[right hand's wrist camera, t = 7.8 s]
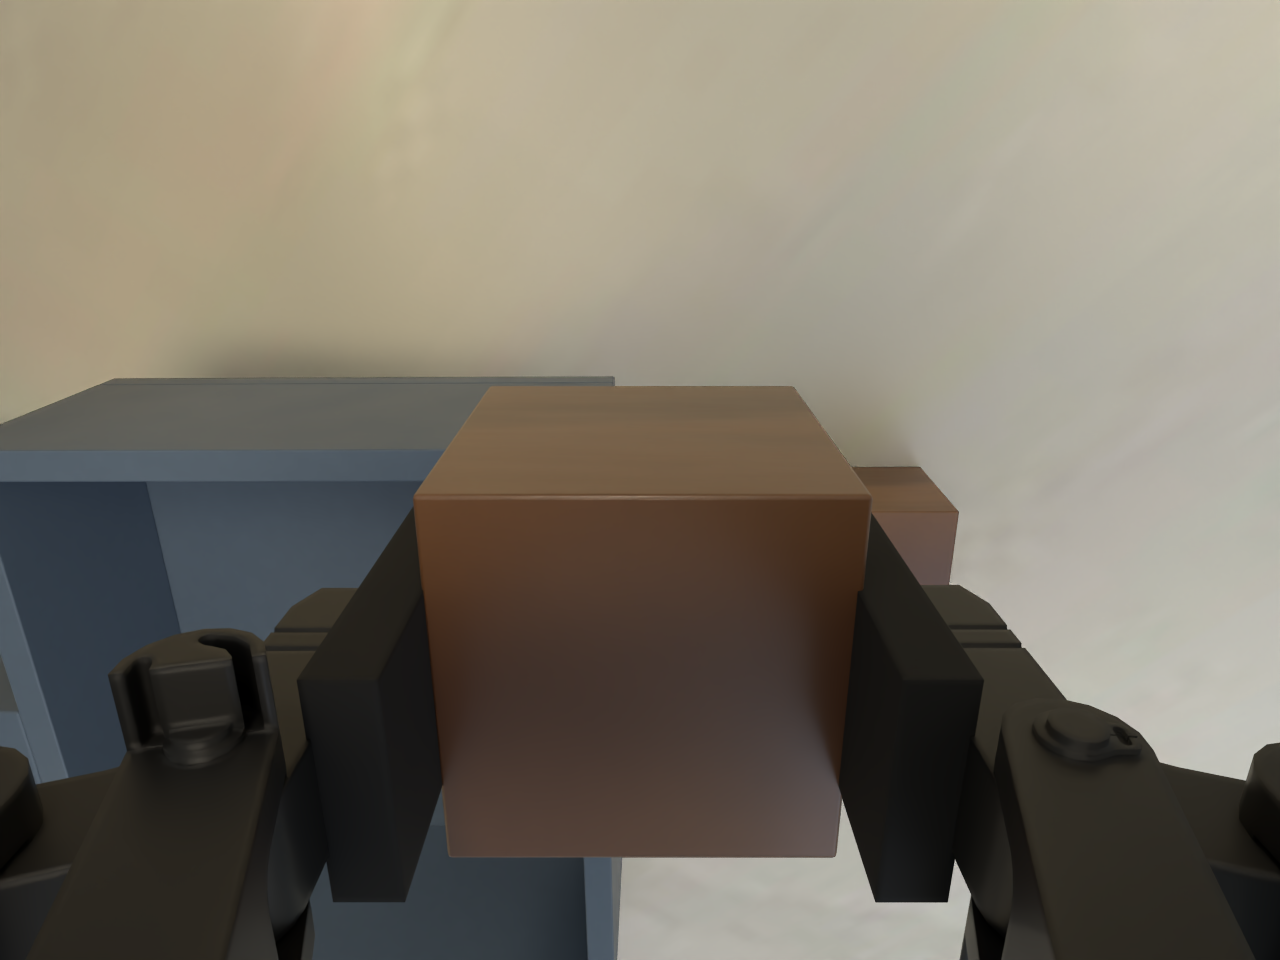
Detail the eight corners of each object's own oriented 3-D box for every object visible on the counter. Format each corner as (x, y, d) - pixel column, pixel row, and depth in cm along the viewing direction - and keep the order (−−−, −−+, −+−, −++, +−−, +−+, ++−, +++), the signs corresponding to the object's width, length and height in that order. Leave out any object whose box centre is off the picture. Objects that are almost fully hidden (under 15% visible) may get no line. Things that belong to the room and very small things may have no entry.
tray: (-202, 379, 26) (-484, 451, 20) (614, 375, 26) (600, 449, 19) (-37, 823, 33) (-211, 989, 26) (623, 827, 32) (615, 998, 26)
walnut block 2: (804, 466, 37) (826, 511, 32) (920, 466, 37) (959, 511, 32) (798, 570, 38) (818, 627, 34) (908, 570, 38) (943, 627, 34)
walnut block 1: (489, 385, 14) (411, 495, 9) (794, 385, 14) (874, 494, 9) (505, 651, 16) (446, 859, 11) (777, 651, 16) (836, 860, 11)
